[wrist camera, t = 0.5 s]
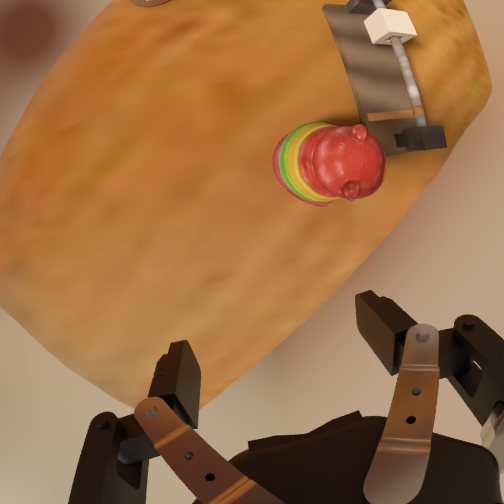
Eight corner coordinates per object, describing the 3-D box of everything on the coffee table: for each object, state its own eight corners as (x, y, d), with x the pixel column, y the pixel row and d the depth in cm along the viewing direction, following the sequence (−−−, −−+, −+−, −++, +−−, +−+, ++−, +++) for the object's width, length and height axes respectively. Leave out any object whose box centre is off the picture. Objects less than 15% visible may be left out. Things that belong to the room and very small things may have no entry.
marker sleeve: (363, 21, 27) (378, 7, 22) (390, 23, 27) (406, 12, 22) (372, 43, 28) (389, 31, 23) (398, 45, 28) (417, 35, 23)
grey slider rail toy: (321, 8, 30) (342, -20, 21) (382, 12, 30) (409, -9, 21) (369, 157, 38) (404, 157, 29) (426, 148, 38) (463, 148, 29)
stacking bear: (329, 209, 39) (397, 240, 22) (262, 191, 38) (291, 211, 21) (347, 138, 37) (423, 126, 20) (280, 117, 35) (323, 79, 18)
